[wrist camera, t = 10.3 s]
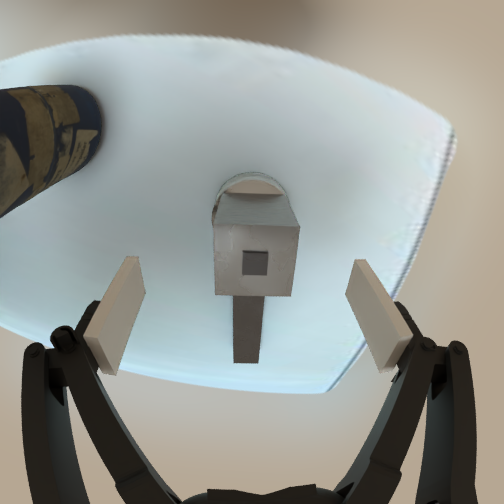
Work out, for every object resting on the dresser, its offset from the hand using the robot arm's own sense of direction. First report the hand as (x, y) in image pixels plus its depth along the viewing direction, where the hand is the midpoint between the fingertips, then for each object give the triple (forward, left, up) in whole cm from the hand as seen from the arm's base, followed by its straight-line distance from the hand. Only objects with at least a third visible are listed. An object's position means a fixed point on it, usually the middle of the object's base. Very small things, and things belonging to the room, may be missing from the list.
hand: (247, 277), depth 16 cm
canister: (-19, +9, -12) cm, 24 cm away
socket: (0, 0, -9) cm, 9 cm away
